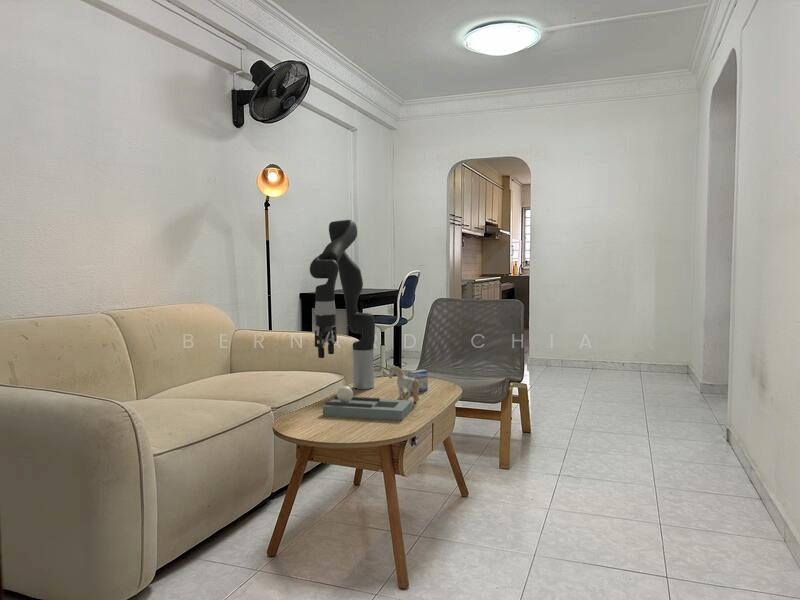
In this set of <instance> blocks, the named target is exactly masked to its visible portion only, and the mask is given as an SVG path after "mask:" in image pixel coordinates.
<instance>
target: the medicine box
mask: <svg viewBox="0 0 800 600" xmlns="http://www.w3.org/2000/svg"><path fill="white" fill-rule="evenodd" d="M428 374H429V373H428V370H426V369H417V370H412V371H407V377H408V378H414V379H417V381H418V382H419V385H420V386H419V391H421V392H424V391H423V390H426V391H428V390H429V381H428V380H429V379H428V378H429V376H428ZM427 389H428V390H427ZM410 391H411V393H413V388H411V390H410Z"/></svg>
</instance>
